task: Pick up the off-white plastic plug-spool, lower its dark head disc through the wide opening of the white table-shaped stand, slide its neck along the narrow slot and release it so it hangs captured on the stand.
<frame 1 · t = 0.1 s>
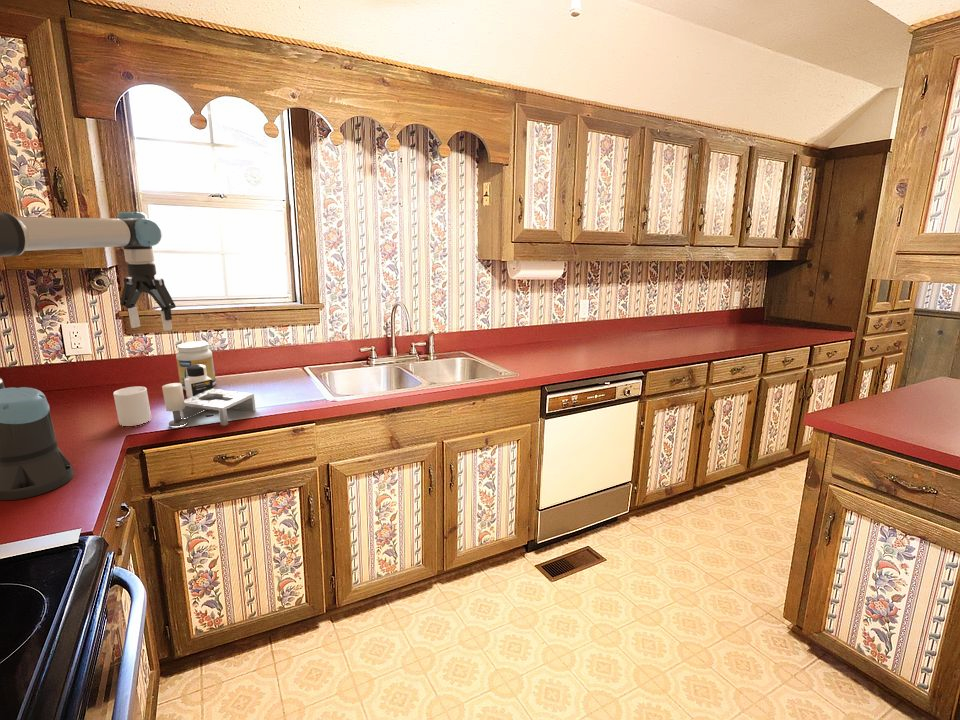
hand: (151, 328, 163), 28 cm above the counter, fingers open, 13 cm apart
supplement tub: (199, 387, 193), on the counter
medicine bottle: (200, 397, 181), on the counter
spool: (178, 425, 156), on the counter
white table-shaped stand: (219, 414, 165), on the counter
mug: (136, 421, 160), on the counter
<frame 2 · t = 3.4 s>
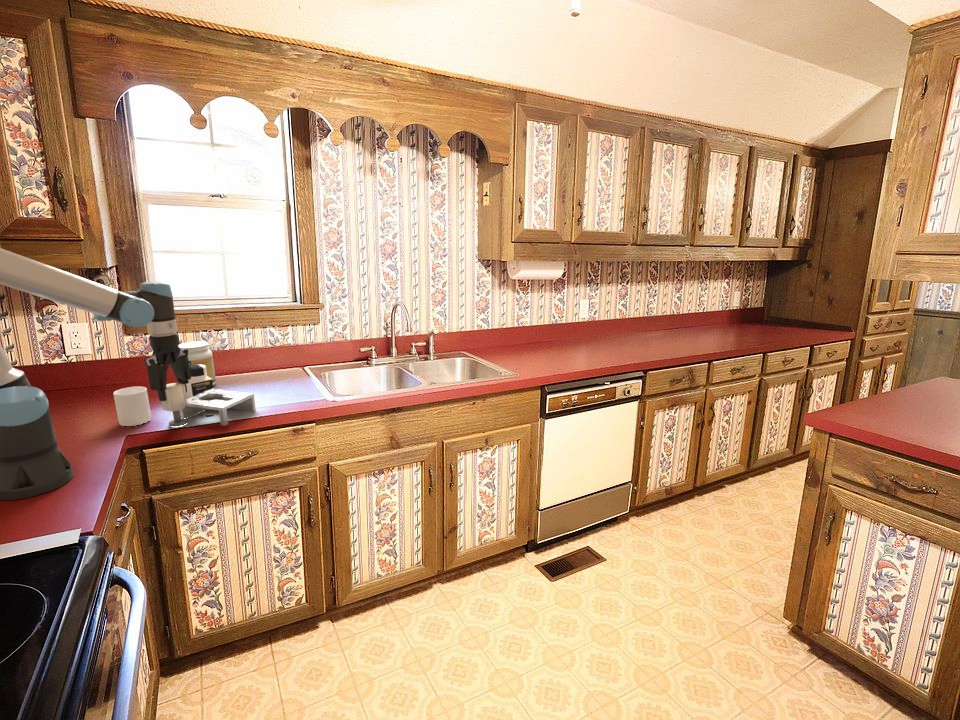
hand: (175, 406, 155), 6 cm above the counter, fingers closed on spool, 5 cm apart
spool: (178, 425, 156), on the counter, touching gripper
everything else where it was.
when the fingers open (7 cm above the counter, at t = 9.7 s): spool stays where it is, resting on white table-shaped stand.
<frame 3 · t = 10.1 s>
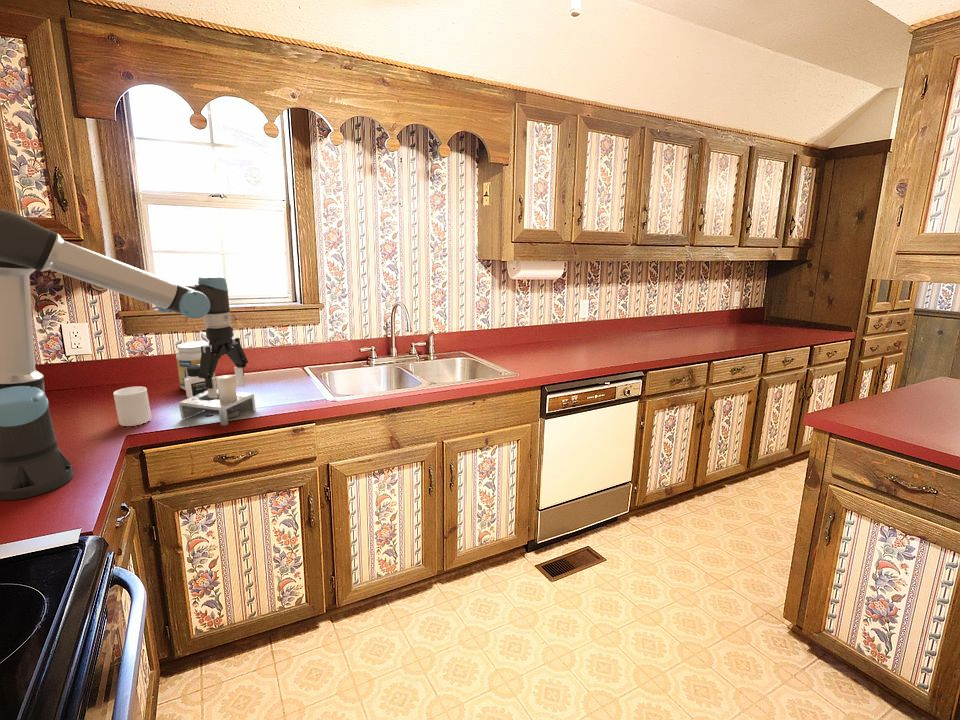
hand: (227, 391, 162), 9 cm above the counter, fingers open, 11 cm apart
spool: (230, 415, 164), resting on white table-shaped stand
everything else where it was.
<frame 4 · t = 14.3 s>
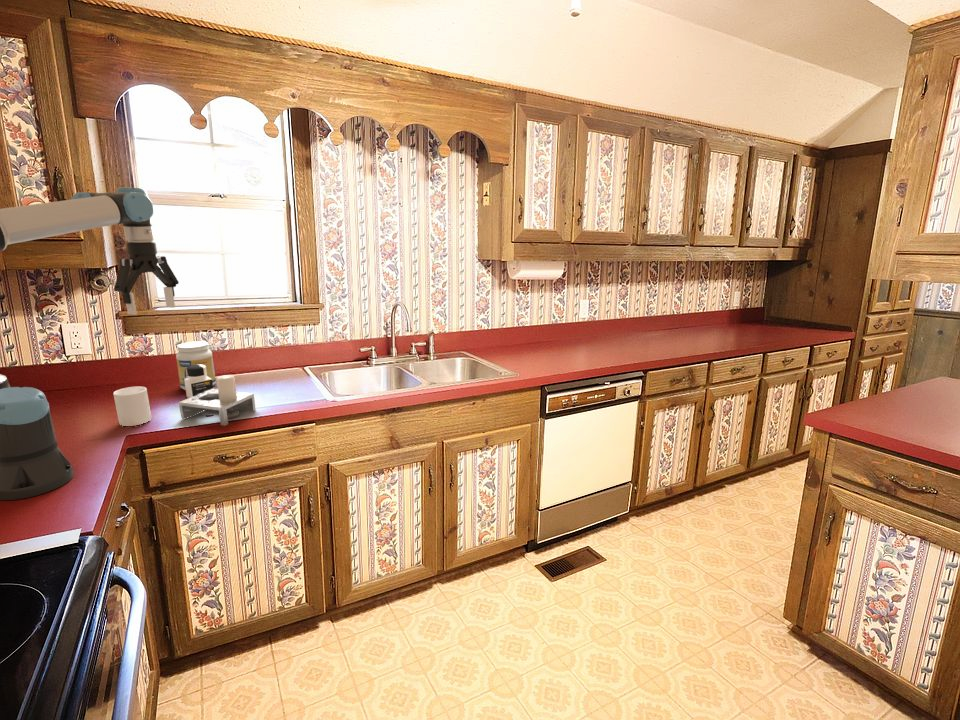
hand: (152, 310, 156), 35 cm above the counter, fingers open, 13 cm apart
nothing on the counter moved.
at the end: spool 0.2 cm from the target spot on the white table-shaped stand, point 0.3 cm above the white table-shaped stand's base; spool tilted 0°; the gripper is holding nothing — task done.
